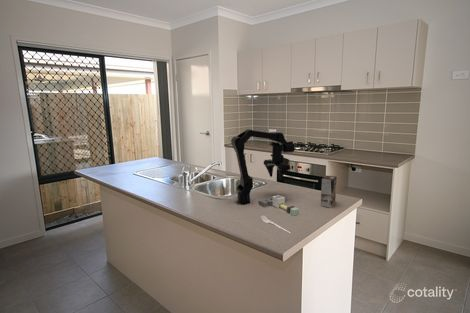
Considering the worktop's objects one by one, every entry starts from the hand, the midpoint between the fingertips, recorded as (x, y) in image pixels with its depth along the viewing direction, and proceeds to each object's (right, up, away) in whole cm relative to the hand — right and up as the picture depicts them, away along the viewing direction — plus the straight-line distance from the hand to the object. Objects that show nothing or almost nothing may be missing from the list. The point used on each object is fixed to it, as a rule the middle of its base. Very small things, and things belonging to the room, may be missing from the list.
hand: (275, 178), depth 172 cm
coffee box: (+29, -15, -9) cm, 33 cm away
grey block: (0, -15, -11) cm, 18 cm away
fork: (-5, -21, -35) cm, 41 cm away
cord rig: (+2, -16, -14) cm, 21 cm away
